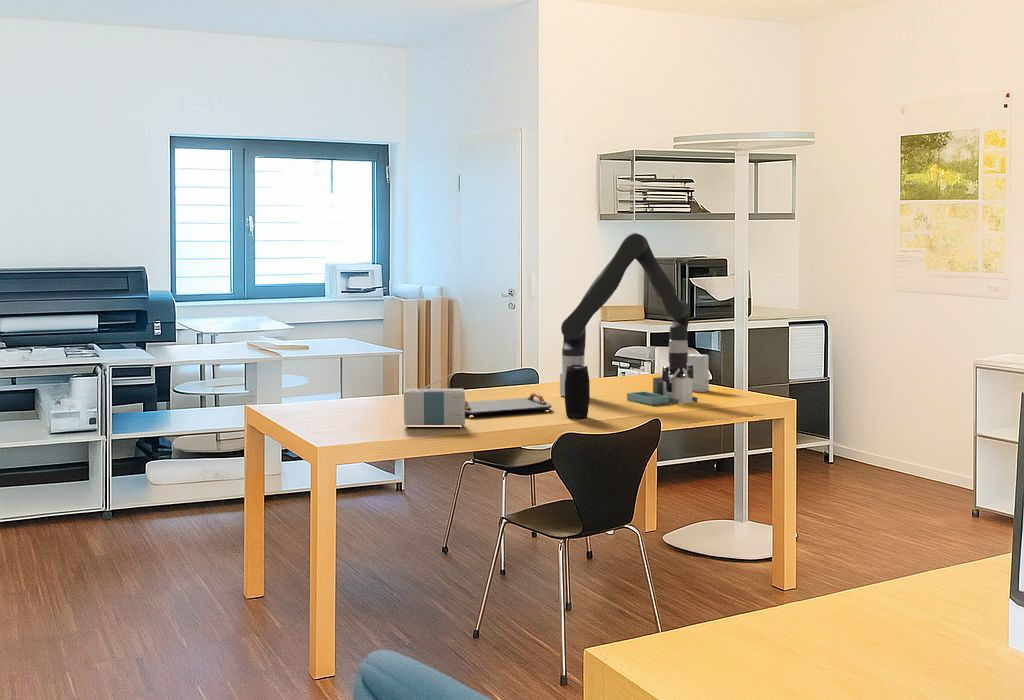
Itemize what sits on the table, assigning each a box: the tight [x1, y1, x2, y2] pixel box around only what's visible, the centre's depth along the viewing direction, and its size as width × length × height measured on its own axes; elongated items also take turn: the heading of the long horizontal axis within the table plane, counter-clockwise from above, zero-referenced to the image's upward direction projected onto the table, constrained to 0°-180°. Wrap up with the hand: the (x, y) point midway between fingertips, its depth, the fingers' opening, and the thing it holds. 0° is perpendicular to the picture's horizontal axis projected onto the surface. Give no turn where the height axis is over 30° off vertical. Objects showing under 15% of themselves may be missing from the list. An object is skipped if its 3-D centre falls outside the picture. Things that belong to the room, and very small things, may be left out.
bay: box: [652, 376, 698, 405], centre depth 415 cm, size 11×15×9 cm
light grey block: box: [663, 374, 693, 405], centre depth 413 cm, size 5×12×11 cm, turn 31°
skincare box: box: [686, 353, 710, 393], centre depth 442 cm, size 8×7×16 cm
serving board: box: [465, 392, 552, 416], centre depth 392 cm, size 39×23×6 cm, turn 114°
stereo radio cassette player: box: [403, 369, 466, 426], centre depth 358 cm, size 21×8×20 cm, turn 90°
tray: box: [626, 391, 670, 407], centre depth 412 cm, size 9×16×3 cm, turn 31°
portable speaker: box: [564, 365, 591, 419], centre depth 377 cm, size 8×9×19 cm
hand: (677, 391), depth 413 cm, fingers open, 8 cm apart
